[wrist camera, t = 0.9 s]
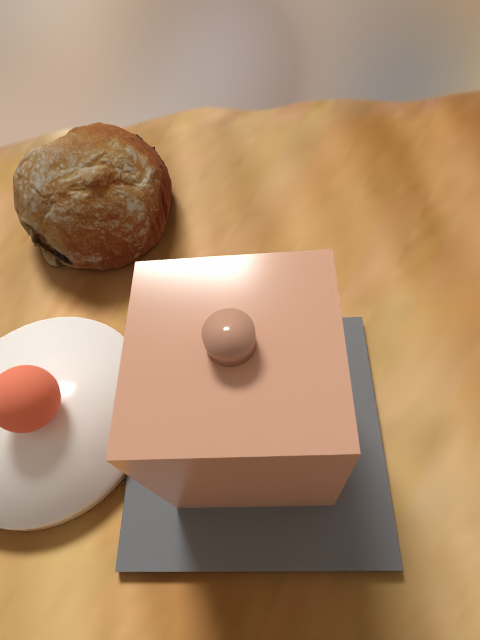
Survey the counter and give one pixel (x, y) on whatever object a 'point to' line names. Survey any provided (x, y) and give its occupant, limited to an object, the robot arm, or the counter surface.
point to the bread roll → (93, 197)
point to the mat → (277, 514)
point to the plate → (61, 424)
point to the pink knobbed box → (236, 382)
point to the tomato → (27, 398)
